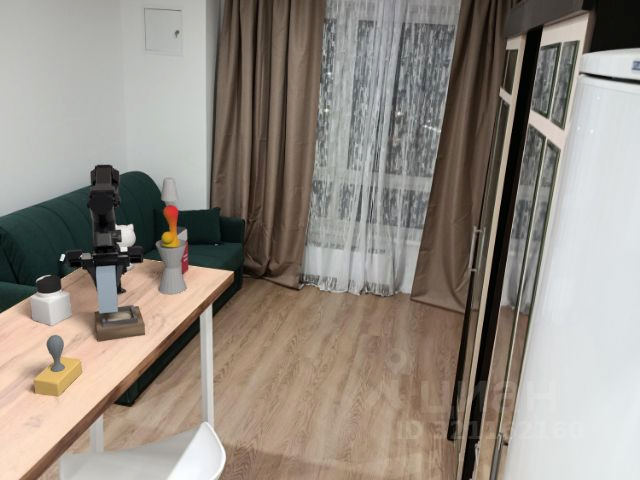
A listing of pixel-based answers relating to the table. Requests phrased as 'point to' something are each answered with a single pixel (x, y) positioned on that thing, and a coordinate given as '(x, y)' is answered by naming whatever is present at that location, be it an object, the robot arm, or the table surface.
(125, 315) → the walnut plinth
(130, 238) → the cat figurine
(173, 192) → the lava lamp
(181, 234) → the red and white box
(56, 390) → the rubber stamp
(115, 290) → the slate post
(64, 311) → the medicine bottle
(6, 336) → the table surface
